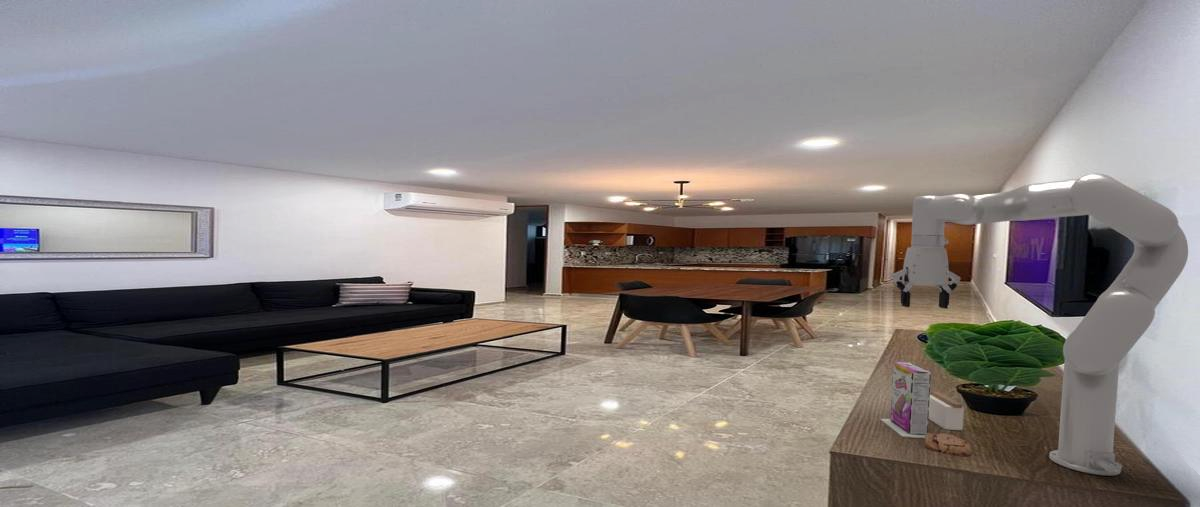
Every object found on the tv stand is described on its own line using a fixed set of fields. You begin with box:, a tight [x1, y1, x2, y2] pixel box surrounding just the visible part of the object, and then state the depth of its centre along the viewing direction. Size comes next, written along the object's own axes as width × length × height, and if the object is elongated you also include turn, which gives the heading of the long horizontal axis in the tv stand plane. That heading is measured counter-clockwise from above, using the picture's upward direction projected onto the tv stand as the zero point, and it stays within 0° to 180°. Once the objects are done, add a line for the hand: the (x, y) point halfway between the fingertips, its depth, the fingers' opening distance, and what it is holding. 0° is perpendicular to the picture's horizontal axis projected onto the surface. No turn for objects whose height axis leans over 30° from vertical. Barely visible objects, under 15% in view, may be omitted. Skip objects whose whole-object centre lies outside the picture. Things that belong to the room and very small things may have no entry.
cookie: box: [923, 432, 973, 457], centre depth 142 cm, size 10×11×3 cm
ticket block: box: [928, 390, 965, 431], centre depth 162 cm, size 13×5×7 cm, turn 175°
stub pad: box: [879, 418, 925, 439], centre depth 155 cm, size 14×8×1 cm, turn 175°
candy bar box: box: [889, 361, 932, 435], centre depth 155 cm, size 11×5×16 cm, turn 178°
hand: (924, 307), depth 156 cm, fingers open, 9 cm apart
